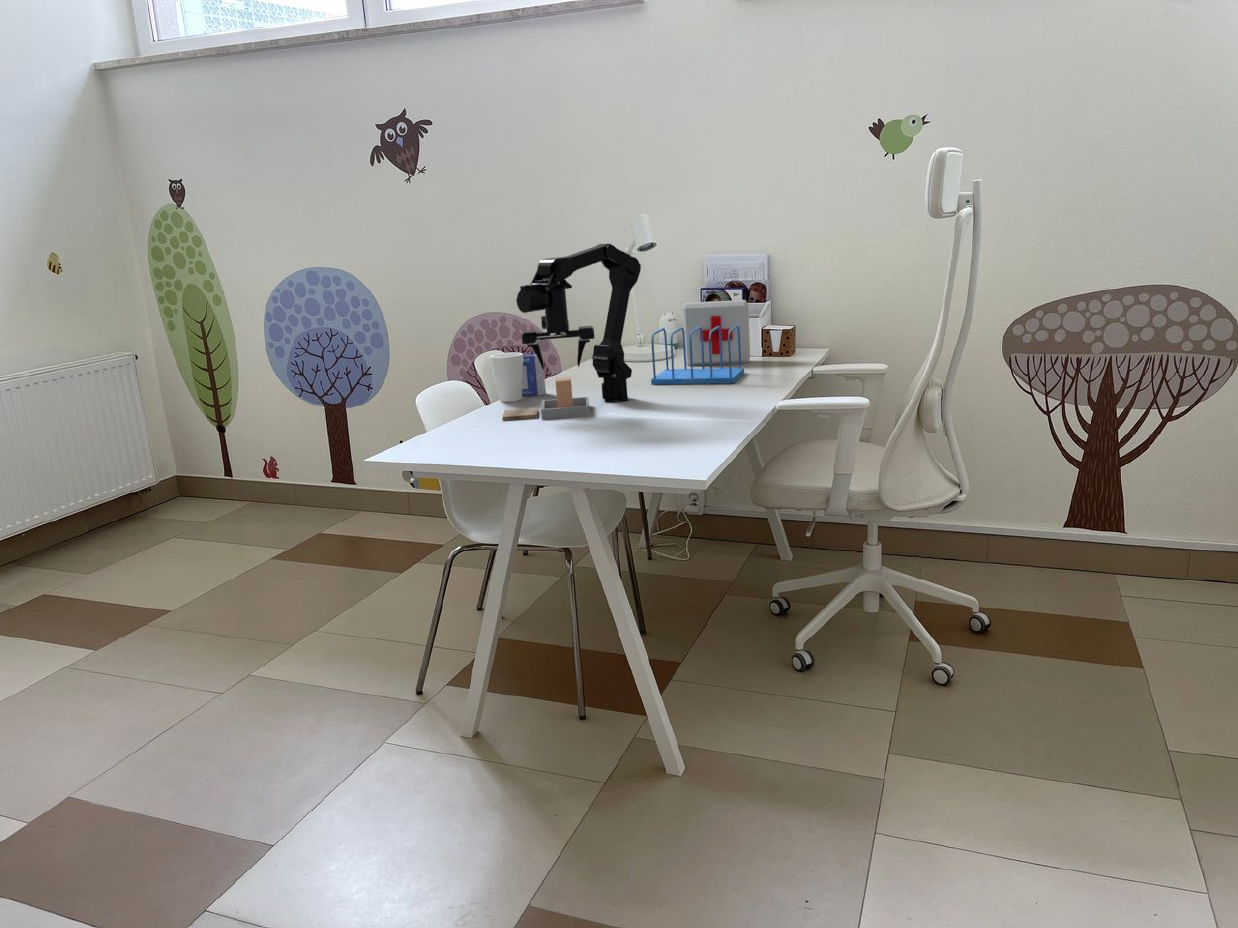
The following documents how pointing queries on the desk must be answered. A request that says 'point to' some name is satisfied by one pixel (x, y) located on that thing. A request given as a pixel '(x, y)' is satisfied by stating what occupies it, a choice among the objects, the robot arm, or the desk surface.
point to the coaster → (520, 414)
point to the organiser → (565, 408)
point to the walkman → (532, 376)
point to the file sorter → (692, 374)
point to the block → (564, 392)
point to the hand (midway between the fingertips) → (561, 367)
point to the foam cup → (508, 375)
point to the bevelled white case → (717, 331)
